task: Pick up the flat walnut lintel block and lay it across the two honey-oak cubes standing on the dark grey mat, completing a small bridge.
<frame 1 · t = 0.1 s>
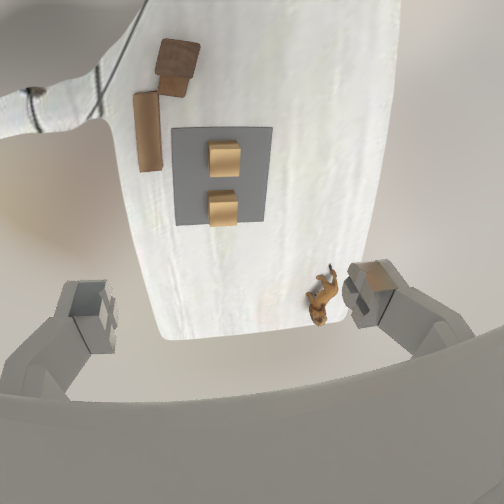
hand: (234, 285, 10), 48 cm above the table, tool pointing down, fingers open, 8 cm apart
lion figurine: (318, 285, 83), on the table
lintel: (149, 129, 51), on the table
mat: (220, 177, 59), on the table
cube b: (220, 201, 62), resting on mat
wooden block: (177, 67, 45), on the table
cube a: (221, 153, 56), resting on mat
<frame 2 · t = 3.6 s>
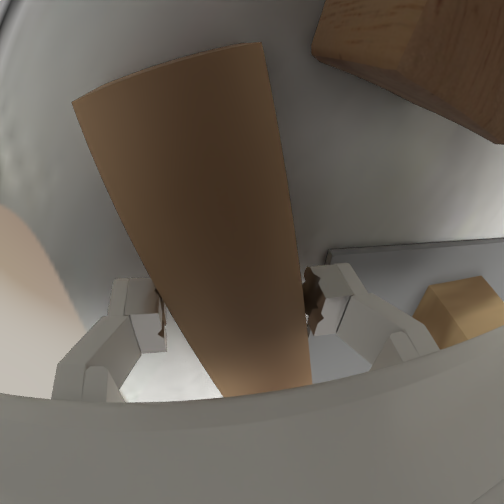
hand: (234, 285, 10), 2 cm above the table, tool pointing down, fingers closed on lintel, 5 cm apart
lintel: (226, 249, 12), on the table, touching gripper
mat: (407, 354, 20), on the table
cube a: (440, 310, 17), resting on mat
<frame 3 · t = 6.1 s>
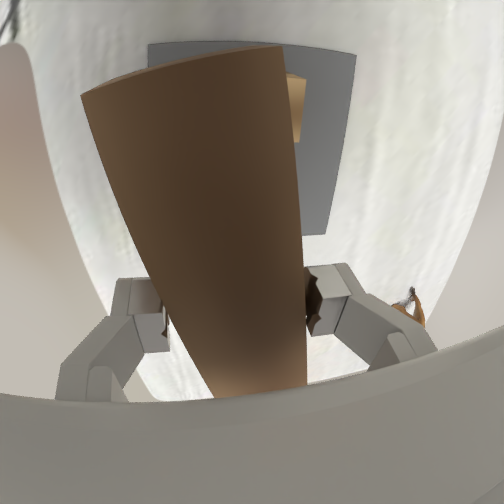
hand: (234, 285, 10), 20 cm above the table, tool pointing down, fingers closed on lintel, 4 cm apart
lion figurine: (390, 317, 51), on the table
lintel: (227, 254, 12), point 18 cm above the table, touching gripper
mat: (251, 148, 28), on the table
cube a: (255, 97, 25), resting on mat
when the fingers open (7 cm above the table, at t = 8.4 s): lintel stays where it is, resting on cube a, cube b.
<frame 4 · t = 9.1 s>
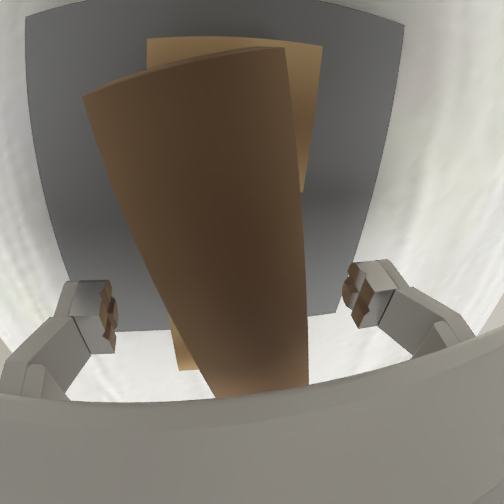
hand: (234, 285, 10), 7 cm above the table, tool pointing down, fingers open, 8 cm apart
lintel: (228, 255, 12), point 5 cm above the table, touching cube a, cube b
mat: (214, 190, 16), on the table
cube b: (214, 271, 19), resting on mat, touching lintel
cube a: (217, 94, 13), resting on mat, touching lintel
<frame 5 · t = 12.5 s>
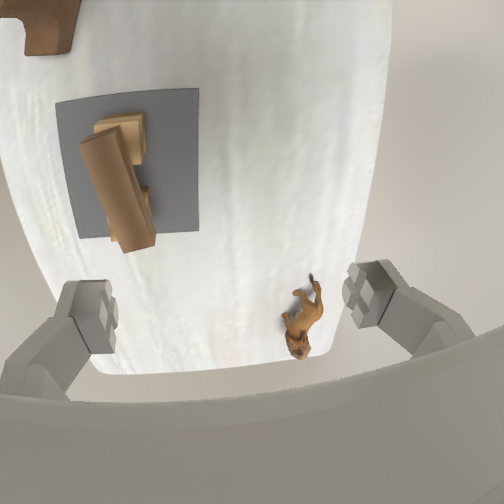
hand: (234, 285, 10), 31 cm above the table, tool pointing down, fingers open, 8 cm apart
lion figurine: (298, 303, 60), on the table
lintel: (122, 186, 33), point 5 cm above the table, touching cube a, cube b
mat: (128, 168, 38), on the table
cube b: (132, 203, 40), resting on mat, touching lintel
wooden block: (61, 19, 24), on the table
cube a: (125, 132, 34), resting on mat, touching lintel
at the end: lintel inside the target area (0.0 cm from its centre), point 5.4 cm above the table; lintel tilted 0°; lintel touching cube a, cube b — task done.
